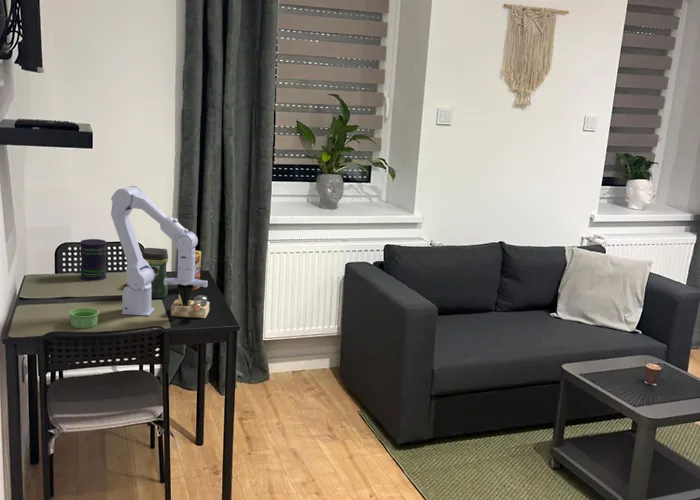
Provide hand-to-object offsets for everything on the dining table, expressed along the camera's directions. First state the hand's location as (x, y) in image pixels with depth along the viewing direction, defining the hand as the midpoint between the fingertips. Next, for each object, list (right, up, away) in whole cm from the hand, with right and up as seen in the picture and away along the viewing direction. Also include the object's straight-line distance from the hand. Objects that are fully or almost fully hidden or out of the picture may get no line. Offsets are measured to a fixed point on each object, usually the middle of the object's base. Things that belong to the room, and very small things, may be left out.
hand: (185, 305), depth 237 cm
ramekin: (-30, -5, -13) cm, 33 cm away
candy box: (-7, +3, +34) cm, 35 cm away
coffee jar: (-17, +2, +23) cm, 28 cm away
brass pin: (-2, -3, +6) cm, 7 cm away
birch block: (0, -3, +6) cm, 7 cm away
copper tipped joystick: (+4, -1, +2) cm, 5 cm away
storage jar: (-47, +8, +40) cm, 62 cm away
